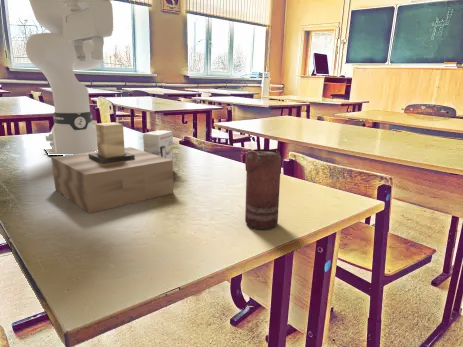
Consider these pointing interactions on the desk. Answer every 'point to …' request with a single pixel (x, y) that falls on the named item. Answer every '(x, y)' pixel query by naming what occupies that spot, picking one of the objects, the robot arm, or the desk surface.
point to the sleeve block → (112, 178)
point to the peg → (110, 139)
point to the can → (262, 188)
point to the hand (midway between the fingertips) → (88, 60)
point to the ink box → (159, 143)
